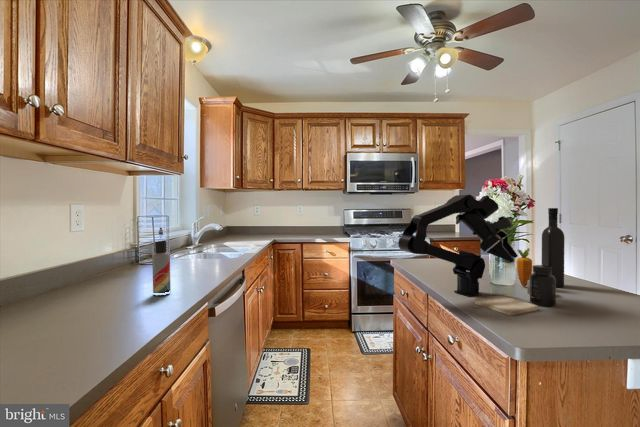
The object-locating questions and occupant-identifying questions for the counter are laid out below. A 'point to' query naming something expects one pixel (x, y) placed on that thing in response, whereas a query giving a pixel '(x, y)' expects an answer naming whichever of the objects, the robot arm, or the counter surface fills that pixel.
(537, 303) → the supplement bottle
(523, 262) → the carrot
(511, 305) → the maple board
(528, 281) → the oak block
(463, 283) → the robot arm
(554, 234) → the wine bottle
